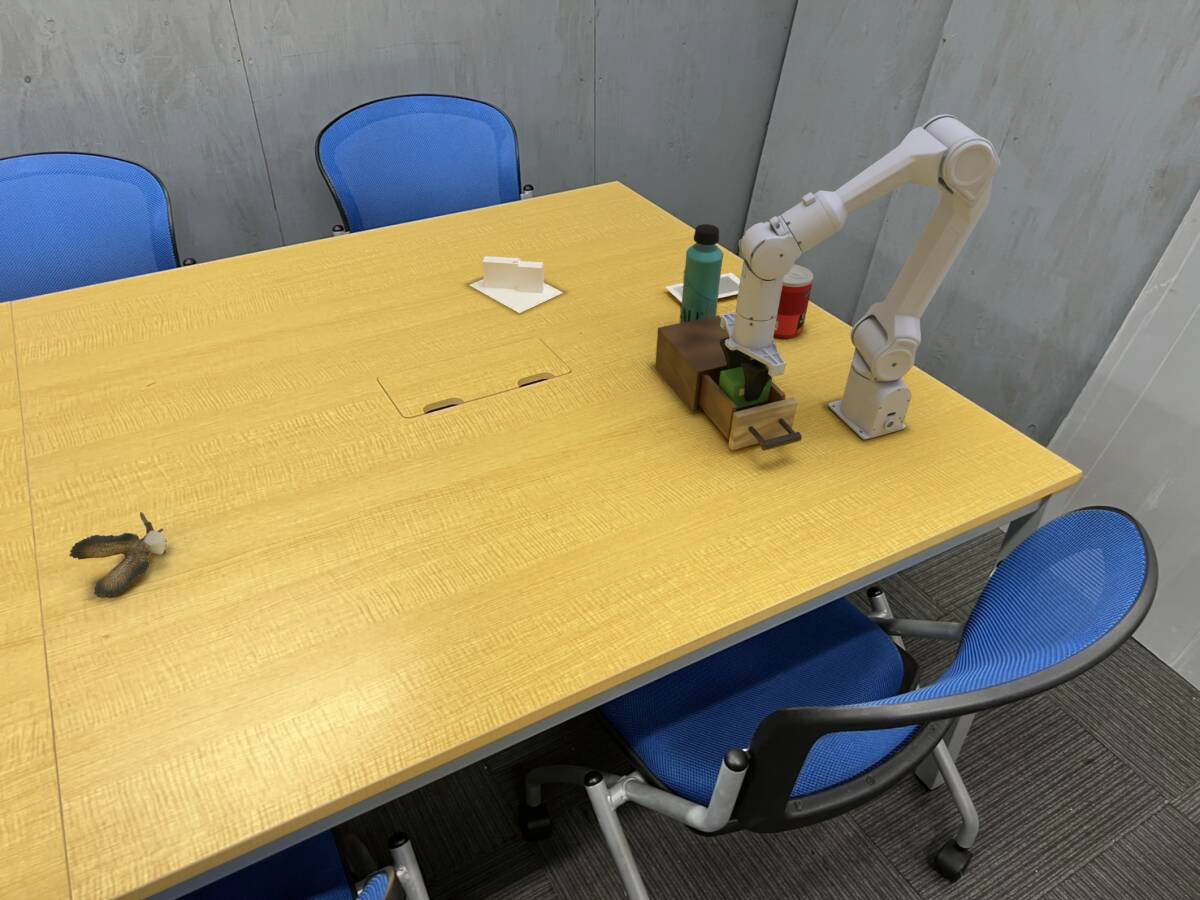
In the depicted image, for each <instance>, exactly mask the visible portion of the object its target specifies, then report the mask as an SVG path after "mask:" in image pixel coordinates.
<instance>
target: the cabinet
mask: <svg viewBox="0 0 1200 900" xmlns="http://www.w3.org/2000/svg"><path fill="white" fill-rule="evenodd" d="M720 322H721V315H719V314H717V315H716V316H712V317H707V318H702V319H697V320H693V321H688V322H683V323H680V322H679V323H674V324H669V325H664V326H659V327H657V335H656V336H657V337H656V350H655V362H654V367H655V369H656V371H658V373H659V374H660V375H661V376H662V378H663V379H664V380H665V381H666V382H667V383H668V385H669V386H670V387H671V388H672V389H673V391H674V392H675V393H676V395H678V397H679V398H680V399H681V401H683V403H684V404H685V405H686V406H687V407H688V409H689V410H690V411H691V412H692V413H698V412H703V411H704V410H703V409H702V408H701V407H700V406H699V405H698V403H697V401H698V393H699V384H700V376H701V374H704V373H709V372H713V371H717V370H722V369H726V368H727V363H726V359H725V355H724V352H723V350H722V348H721V346H720V340H721V339H724V338H728V333H727V329H723V328H722V327H721V326H720ZM750 360H754V358H752V357H751V358H750Z"/></svg>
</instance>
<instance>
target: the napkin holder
mask: <svg viewBox="0 0 1200 900" xmlns="http://www.w3.org/2000/svg"><path fill="white" fill-rule="evenodd" d="M521 259H522V258H520V257H506V256H489V255H488V256H487V255H486V256H484V257H483V260H482V272H483V273H482V274H483V278H482V279H480V280H477V281H475V282H472V283H471V284H468V286H469V287H471V288H473V289H475V290H477V291H478V292H480V293H482V294H484V295H486V296H487V297H490V298H491V299H493V300H495V301H497V302H498V303H500V304H502V305H504V306H506V308H509V309H510V310H512V311H515V312H517V313H518V314H521V313H524V312H525V311H527V310H529V309H532V308H533V307H536V306H539V305H540V304H543V303H544V302H547V301H549V300H550V299H553V298H555V297H558V296H560V295H562V294H564V292H563V291H561V290H559V289H557V288H556V287H553V286H551V285H550V284H548V283H545V269H544V267H545V266H544V262H543V261H528V260H527V261H526V260H521Z"/></svg>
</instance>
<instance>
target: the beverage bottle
mask: <svg viewBox="0 0 1200 900" xmlns="http://www.w3.org/2000/svg"><path fill="white" fill-rule="evenodd" d="M693 242H695V243H694V244H691V246H689V247H688V248H687V249H686V252H685V264H684V270H683V279H682V283H683V284H684V285H683V286H682V287H683V291H682V292H683V296H682V302H681V303H680V308H679V311H680V312H679V320H678V321H679V323H683V322H688V321H693V320H697V319H702V318H707V317H712V316H717V315H718V313H717V311H718V304H719V302H718V301H719V298H718V293H719V292H718V291H719V283H720V275H722V274H721V273H722V266H723V259H724V252H723V251H722V249H721V248H720V247H719V246H718V245H717V244H718V243H719V242H720V229H719V227H718V226H716V225H713V224H709V223H704V224H699V225H697V226H696V227H695V229H694V234H693Z"/></svg>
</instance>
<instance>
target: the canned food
mask: <svg viewBox="0 0 1200 900" xmlns="http://www.w3.org/2000/svg"><path fill="white" fill-rule="evenodd" d="M813 282H814V274H813V272H812V271H811V270H810V269H808V268H807V267H805V266H802V265H799V264H795V263H794V265H793V267H792V269H791V270H790V271H789V272H788V273H787V274H786V275H784V278H783V285H782V291H781V296H780V302H779V307H778V313H777V319H776V324H775V330H774V336H773V338H777V339H792V338H795V337H797V336H799V335H800V334H801V333H802V331H803V329H804V326H805V321H806V315H807V312H808V306H809V303H810V296H811V293H812V287H813Z"/></svg>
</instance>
